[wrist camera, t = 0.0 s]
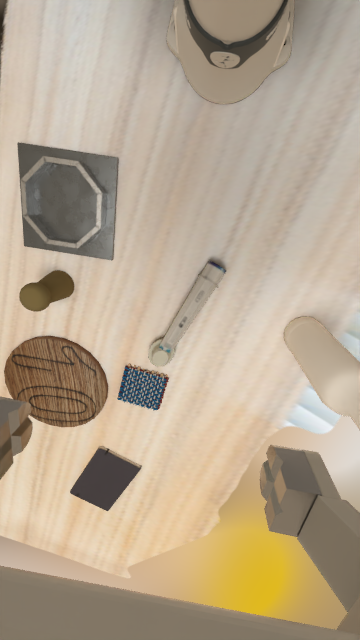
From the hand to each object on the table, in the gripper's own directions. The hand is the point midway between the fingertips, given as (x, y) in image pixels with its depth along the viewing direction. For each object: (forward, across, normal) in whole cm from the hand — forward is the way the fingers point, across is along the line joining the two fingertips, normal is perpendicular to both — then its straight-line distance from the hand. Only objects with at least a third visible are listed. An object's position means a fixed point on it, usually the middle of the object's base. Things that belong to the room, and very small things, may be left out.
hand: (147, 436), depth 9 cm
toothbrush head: (+48, 0, +13) cm, 50 cm away
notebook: (+49, +15, +66) cm, 84 cm away
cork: (+48, +27, +11) cm, 56 cm away
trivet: (+49, +28, +36) cm, 67 cm away
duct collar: (+48, +25, -5) cm, 54 cm away
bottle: (+48, -25, +13) cm, 56 cm away
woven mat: (+49, +7, +33) cm, 59 cm away
